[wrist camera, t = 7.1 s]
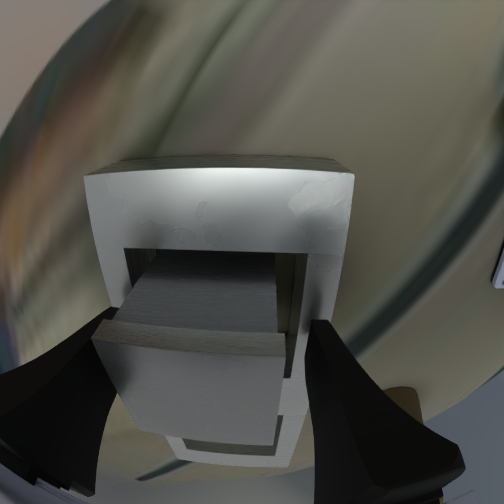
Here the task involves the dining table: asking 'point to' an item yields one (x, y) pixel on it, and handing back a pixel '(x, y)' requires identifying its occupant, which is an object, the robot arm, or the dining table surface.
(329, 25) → the dining table surface
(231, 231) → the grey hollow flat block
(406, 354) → the dining table surface
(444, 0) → the dining table surface
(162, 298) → the grey rectangular block
